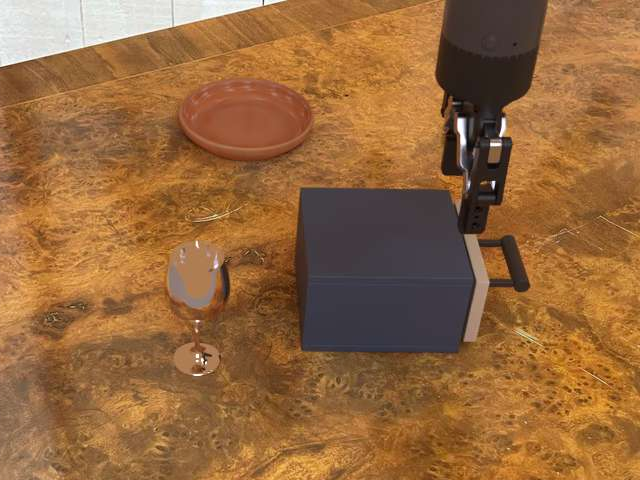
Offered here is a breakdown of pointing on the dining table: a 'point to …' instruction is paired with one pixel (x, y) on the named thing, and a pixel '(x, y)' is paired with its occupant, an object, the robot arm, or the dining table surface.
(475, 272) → the drawer
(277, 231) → the dining table surface
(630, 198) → the dining table surface
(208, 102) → the saucer
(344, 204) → the cabinet
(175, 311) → the wineglass
